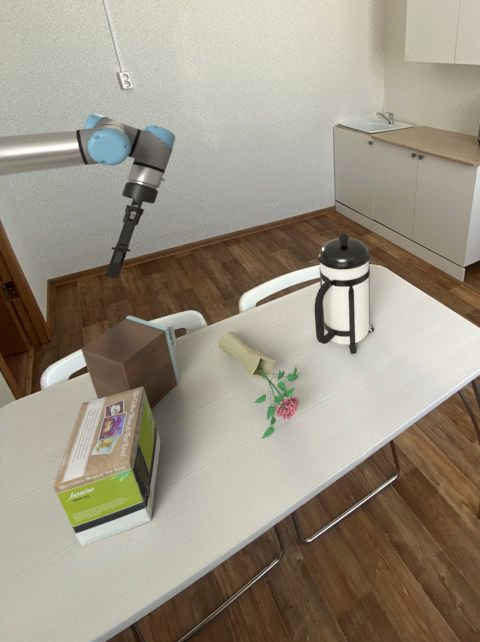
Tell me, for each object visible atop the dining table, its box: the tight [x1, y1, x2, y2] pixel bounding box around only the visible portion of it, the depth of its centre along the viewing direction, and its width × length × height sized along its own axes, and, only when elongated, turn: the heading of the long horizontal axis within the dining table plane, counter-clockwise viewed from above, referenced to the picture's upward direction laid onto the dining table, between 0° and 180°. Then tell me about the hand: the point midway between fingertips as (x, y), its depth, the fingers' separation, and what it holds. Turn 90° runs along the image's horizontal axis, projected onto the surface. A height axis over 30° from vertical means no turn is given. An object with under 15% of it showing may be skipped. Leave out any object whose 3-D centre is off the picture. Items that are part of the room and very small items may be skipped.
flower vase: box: [217, 331, 300, 439], centre depth 84 cm, size 12×12×35 cm
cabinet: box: [80, 318, 178, 410], centre depth 83 cm, size 10×12×15 cm
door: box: [125, 315, 181, 384], centre depth 88 cm, size 3×12×15 cm, turn 68°
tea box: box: [52, 387, 162, 547], centre depth 64 cm, size 15×10×15 cm, turn 21°
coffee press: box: [314, 233, 375, 355], centre depth 96 cm, size 17×16×30 cm
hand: (111, 276), depth 94 cm, fingers closed
